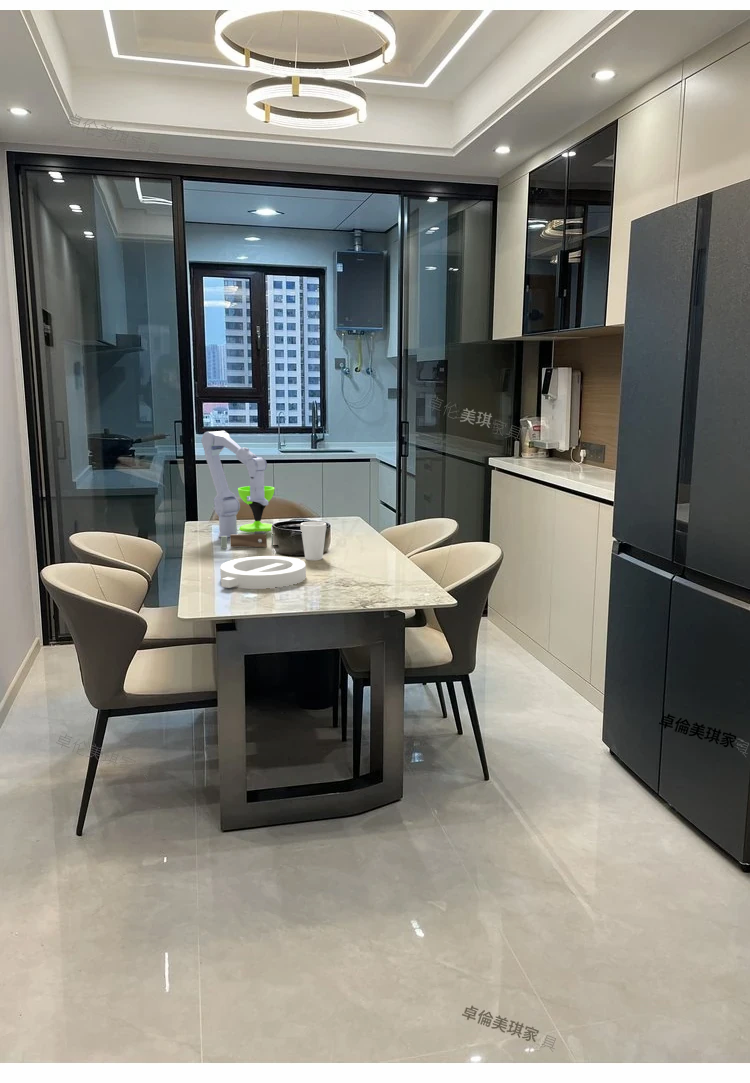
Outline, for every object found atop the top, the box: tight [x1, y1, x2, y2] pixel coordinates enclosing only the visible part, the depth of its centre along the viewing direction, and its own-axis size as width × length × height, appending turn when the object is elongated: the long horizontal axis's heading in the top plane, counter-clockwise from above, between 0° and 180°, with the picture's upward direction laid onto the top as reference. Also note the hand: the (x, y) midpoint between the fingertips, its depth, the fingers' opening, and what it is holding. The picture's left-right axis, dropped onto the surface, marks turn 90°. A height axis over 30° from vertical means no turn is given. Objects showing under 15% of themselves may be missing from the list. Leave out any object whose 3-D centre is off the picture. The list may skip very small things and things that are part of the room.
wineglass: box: [237, 485, 275, 533], centre depth 349 cm, size 16×16×18 cm
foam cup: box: [300, 521, 327, 561], centre depth 292 cm, size 10×9×13 cm
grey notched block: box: [253, 531, 266, 534], centre depth 319 cm, size 8×4×5 cm, turn 12°
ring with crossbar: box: [219, 555, 307, 590], centre depth 264 cm, size 28×28×5 cm
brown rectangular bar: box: [229, 533, 268, 548], centre depth 311 cm, size 3×14×5 cm, turn 94°
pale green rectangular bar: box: [220, 533, 274, 549], centre depth 313 cm, size 2×22×4 cm, turn 102°
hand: (257, 520), depth 323 cm, fingers closed
